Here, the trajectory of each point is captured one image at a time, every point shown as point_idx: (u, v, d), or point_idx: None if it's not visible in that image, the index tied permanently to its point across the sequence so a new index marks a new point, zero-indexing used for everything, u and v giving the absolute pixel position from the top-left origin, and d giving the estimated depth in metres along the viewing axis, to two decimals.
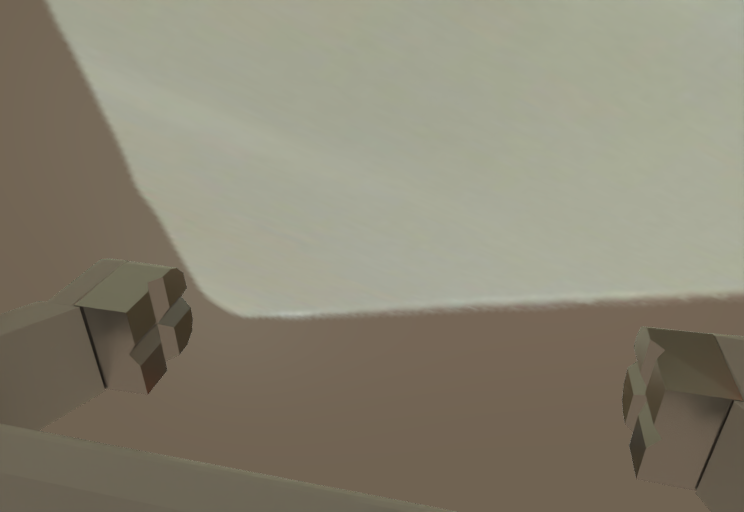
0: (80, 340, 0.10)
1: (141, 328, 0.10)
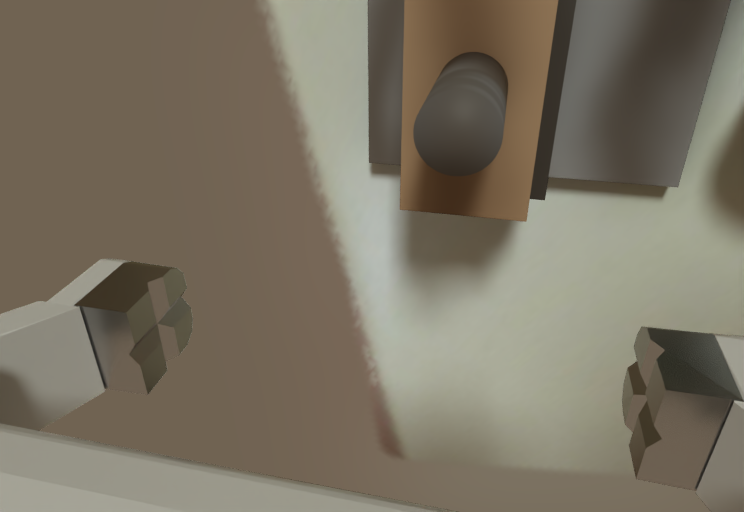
0: (80, 340, 0.10)
1: (141, 328, 0.10)
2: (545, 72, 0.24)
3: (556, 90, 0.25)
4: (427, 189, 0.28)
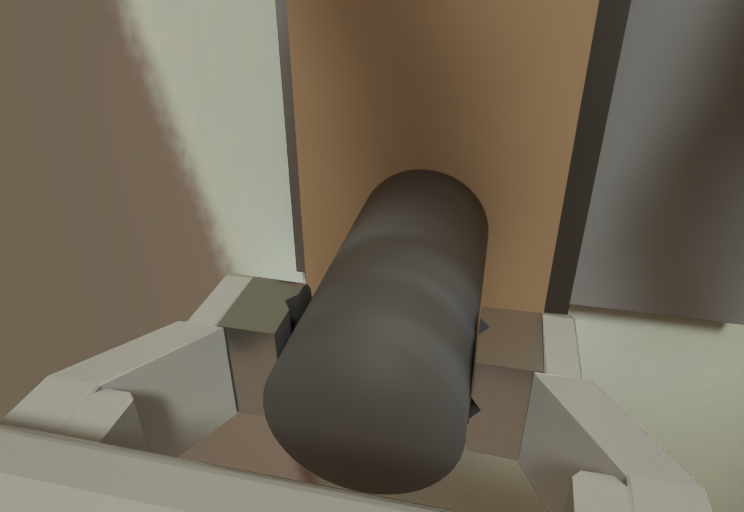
0: (220, 362, 0.09)
1: None
2: (557, 210, 0.13)
3: (574, 225, 0.14)
4: None
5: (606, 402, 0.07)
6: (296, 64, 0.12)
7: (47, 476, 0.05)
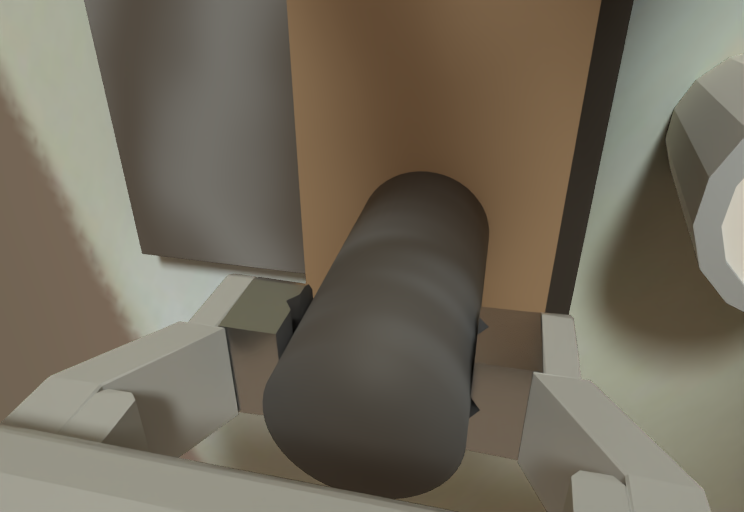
0: (222, 362, 0.09)
1: (284, 349, 0.09)
2: (558, 212, 0.13)
3: (575, 227, 0.14)
4: None
5: (605, 402, 0.07)
6: (296, 65, 0.12)
7: (47, 476, 0.05)
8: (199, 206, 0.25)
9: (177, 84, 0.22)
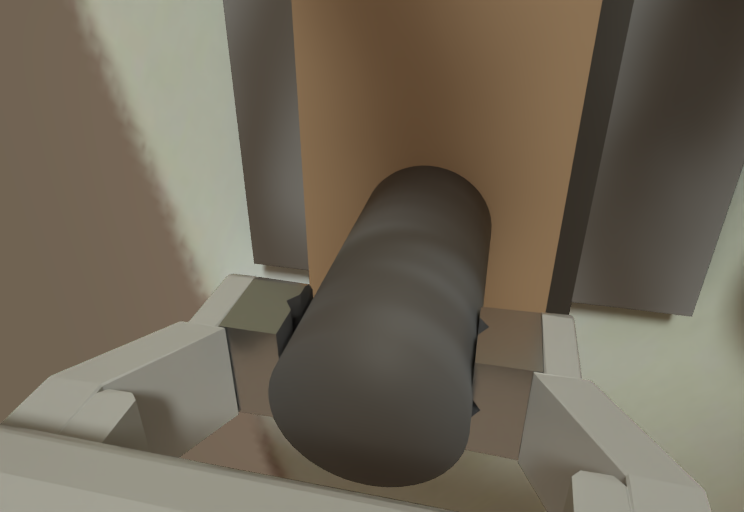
0: (222, 362, 0.09)
1: (284, 349, 0.09)
2: (560, 206, 0.13)
3: (576, 222, 0.14)
4: None
5: (606, 402, 0.07)
6: (300, 60, 0.12)
7: (47, 476, 0.05)
8: None
9: None
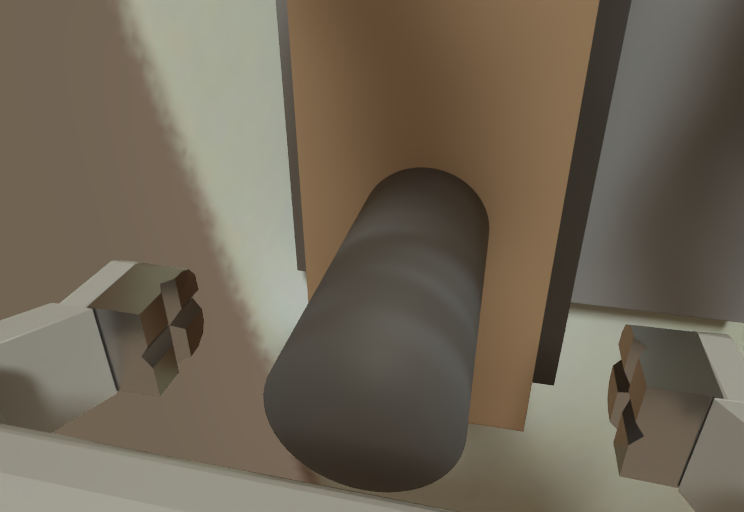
0: (93, 342, 0.10)
1: (154, 330, 0.10)
2: (558, 207, 0.13)
3: (575, 223, 0.14)
4: None
5: None
6: (296, 62, 0.12)
7: (46, 476, 0.05)
8: None
9: None
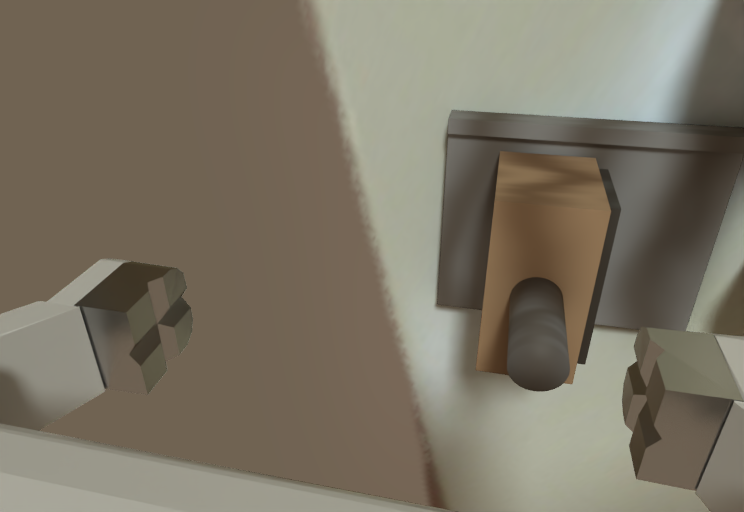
0: (80, 340, 0.10)
1: (141, 328, 0.10)
2: (590, 293, 0.33)
3: (596, 296, 0.35)
4: (497, 359, 0.37)
5: None
6: (492, 239, 0.33)
7: (47, 476, 0.05)
8: (483, 279, 0.44)
9: (488, 218, 0.41)
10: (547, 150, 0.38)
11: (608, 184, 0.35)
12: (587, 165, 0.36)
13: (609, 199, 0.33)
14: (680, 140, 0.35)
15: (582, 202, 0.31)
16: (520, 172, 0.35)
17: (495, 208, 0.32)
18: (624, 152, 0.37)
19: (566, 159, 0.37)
